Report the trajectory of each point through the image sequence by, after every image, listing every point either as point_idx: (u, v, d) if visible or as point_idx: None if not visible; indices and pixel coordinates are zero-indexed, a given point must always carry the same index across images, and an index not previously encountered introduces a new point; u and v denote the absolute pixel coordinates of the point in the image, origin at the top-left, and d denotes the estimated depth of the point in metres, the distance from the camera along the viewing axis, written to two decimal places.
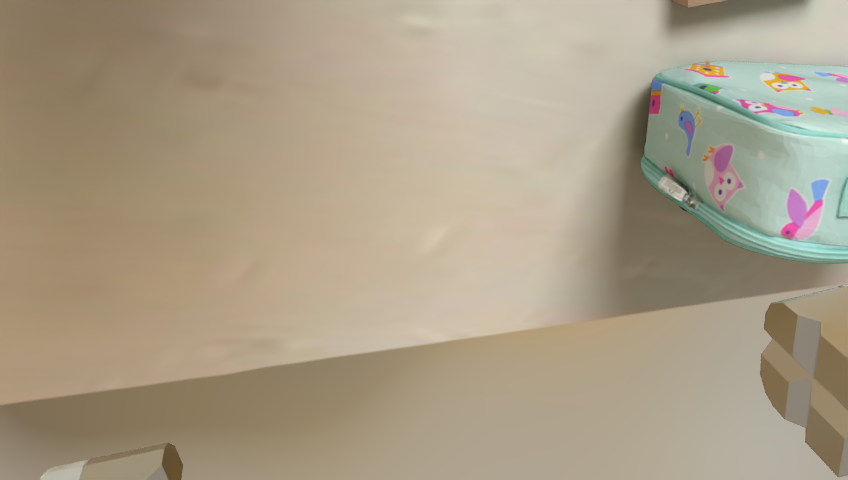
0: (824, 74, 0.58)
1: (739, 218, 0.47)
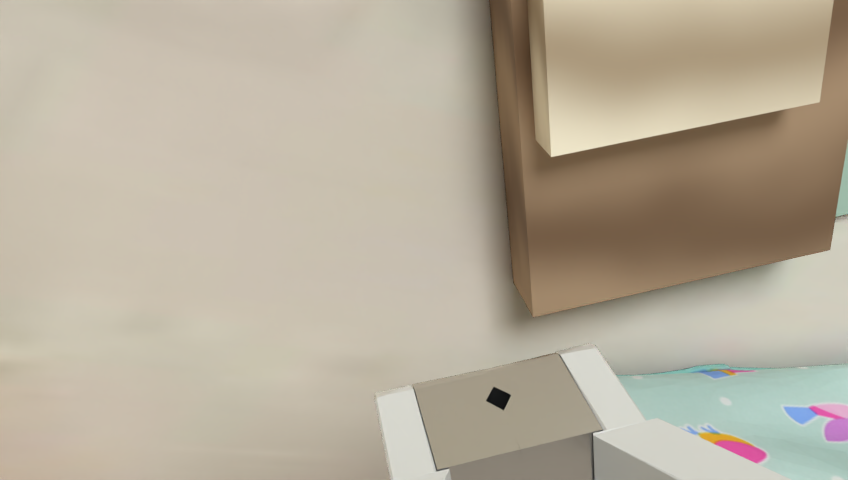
0: (803, 414, 0.31)
1: None
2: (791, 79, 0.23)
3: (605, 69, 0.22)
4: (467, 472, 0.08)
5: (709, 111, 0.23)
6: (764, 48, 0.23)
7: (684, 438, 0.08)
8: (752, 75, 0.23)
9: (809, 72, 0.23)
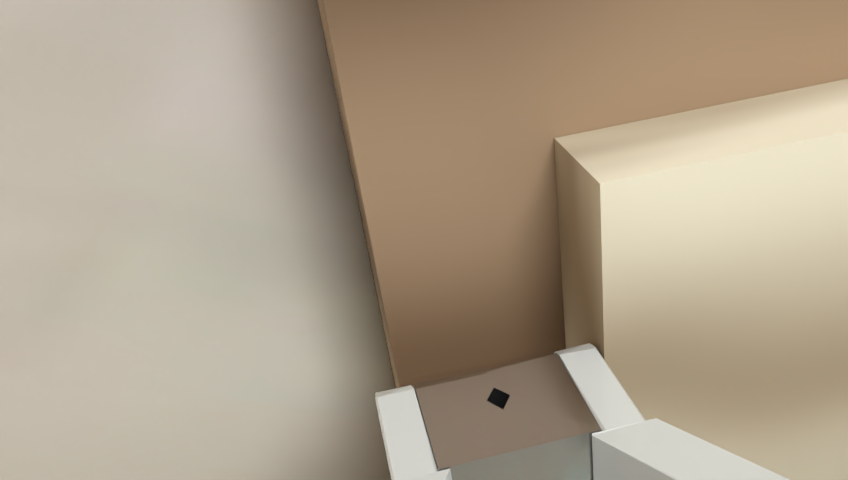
0: None
1: None
2: None
3: (729, 394, 0.10)
4: (468, 472, 0.08)
5: None
6: None
7: (683, 438, 0.08)
8: None
9: None
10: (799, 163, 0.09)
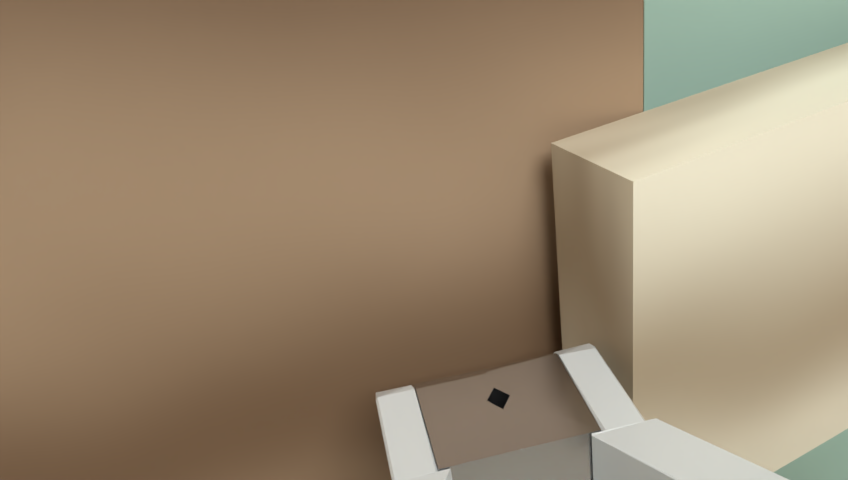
0: None
1: None
2: None
3: (734, 378, 0.10)
4: (468, 472, 0.08)
5: None
6: None
7: (682, 438, 0.08)
8: None
9: None
10: (792, 143, 0.09)
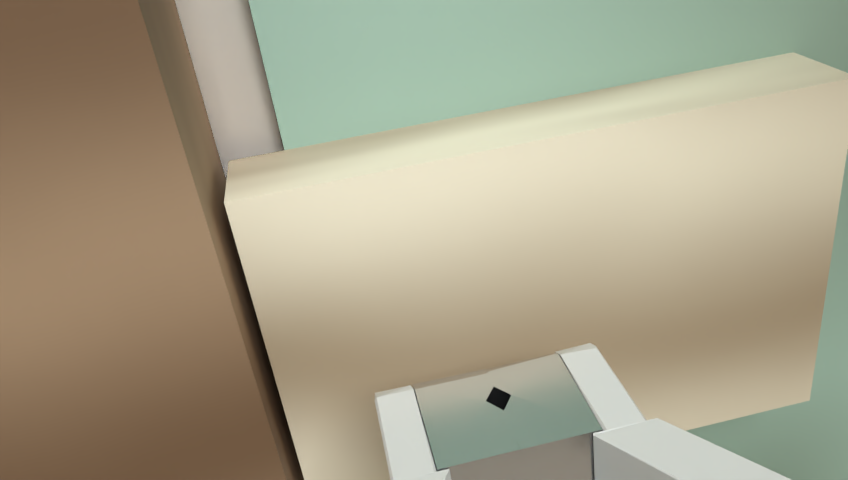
0: None
1: None
2: (757, 372, 0.13)
3: (398, 385, 0.12)
4: (467, 472, 0.08)
5: None
6: (704, 330, 0.12)
7: (684, 438, 0.08)
8: (684, 371, 0.13)
9: (790, 358, 0.13)
10: (409, 185, 0.10)
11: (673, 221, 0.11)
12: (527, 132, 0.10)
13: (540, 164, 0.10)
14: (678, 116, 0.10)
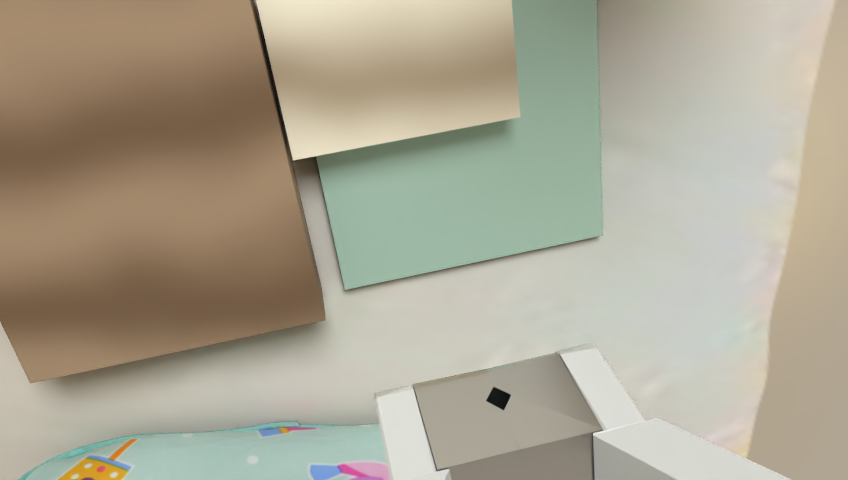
0: (327, 472, 0.33)
1: None
2: (491, 98, 0.29)
3: (326, 90, 0.28)
4: (467, 472, 0.08)
5: (424, 124, 0.29)
6: (461, 73, 0.28)
7: (684, 438, 0.08)
8: (456, 95, 0.29)
9: (506, 92, 0.29)
10: None
11: (439, 18, 0.27)
12: None
13: None
14: None
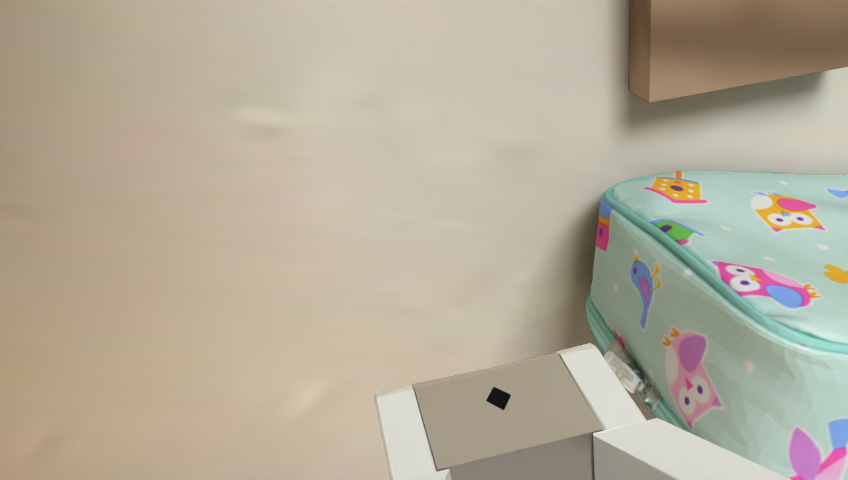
0: (841, 193, 0.42)
1: None
2: None
3: None
4: (467, 472, 0.08)
5: None
6: None
7: (684, 438, 0.08)
8: None
9: None
10: None
11: None
12: None
13: None
14: None
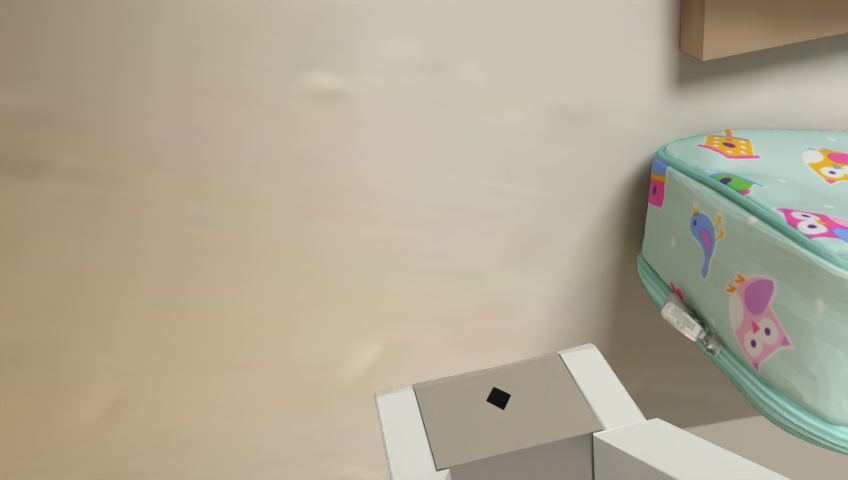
0: None
1: (783, 388, 0.32)
2: None
3: None
4: (467, 472, 0.08)
5: None
6: None
7: (684, 438, 0.08)
8: None
9: None
10: None
11: None
12: None
13: None
14: None
